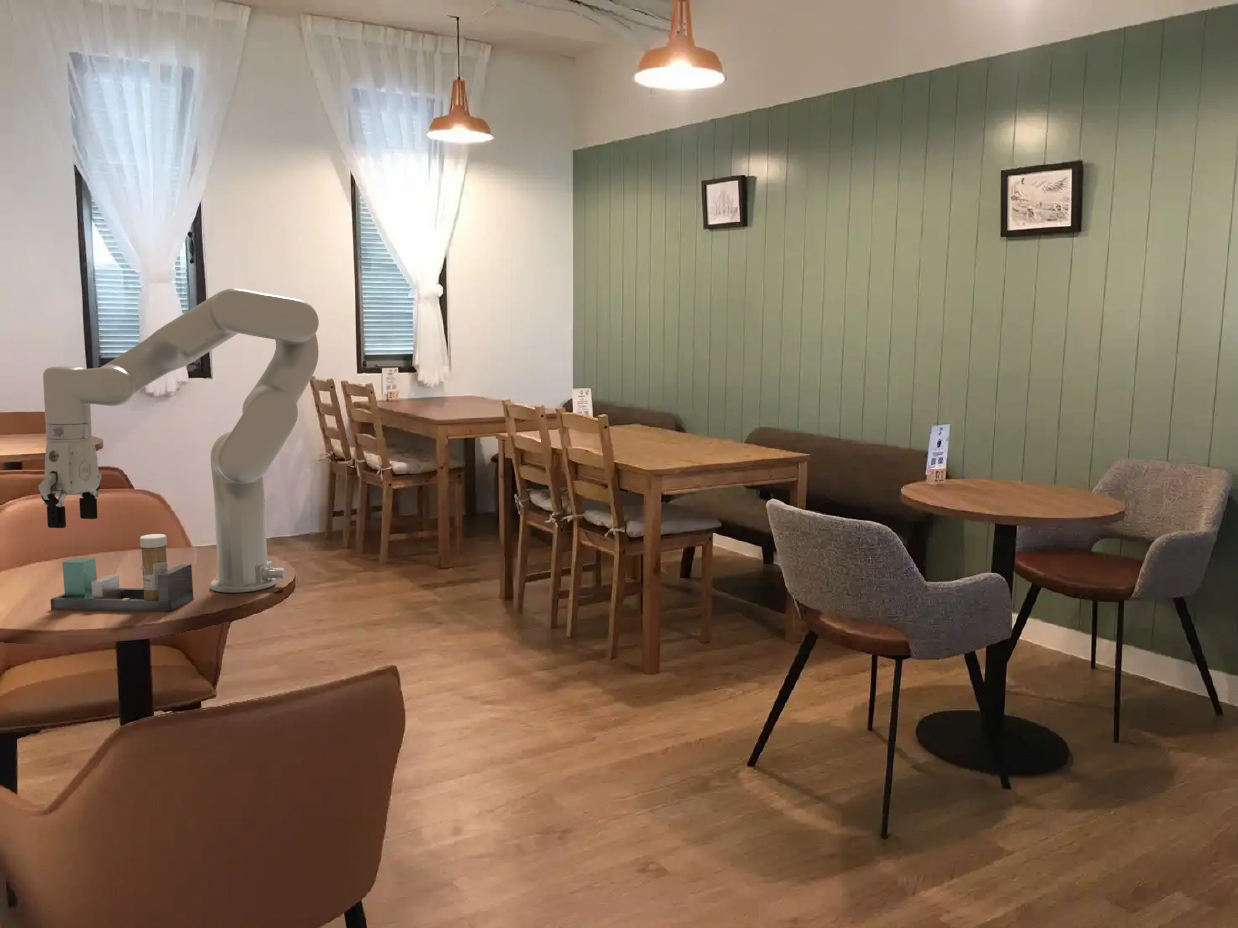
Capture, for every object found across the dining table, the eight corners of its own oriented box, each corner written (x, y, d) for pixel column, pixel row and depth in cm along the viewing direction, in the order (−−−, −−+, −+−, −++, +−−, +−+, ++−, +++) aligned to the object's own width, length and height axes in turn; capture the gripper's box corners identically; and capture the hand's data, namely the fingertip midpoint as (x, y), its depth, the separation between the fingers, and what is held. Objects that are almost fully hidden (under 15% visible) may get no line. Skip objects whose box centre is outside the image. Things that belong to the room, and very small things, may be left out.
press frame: (193, 599, 195) (191, 564, 194) (169, 611, 186) (166, 574, 185) (80, 597, 197) (78, 562, 196) (51, 609, 188) (48, 572, 187)
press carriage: (120, 597, 195) (118, 557, 194) (102, 605, 189) (99, 564, 188) (81, 596, 195) (78, 556, 194) (62, 604, 190) (59, 563, 188)
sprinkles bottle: (139, 605, 191) (135, 535, 189) (163, 600, 194) (159, 532, 193) (150, 609, 188) (146, 538, 186) (174, 604, 191) (170, 535, 190)
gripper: (58, 437, 179) (63, 532, 181) (114, 429, 196) (118, 516, 198) (18, 436, 180) (24, 530, 182) (78, 428, 197) (82, 515, 199)
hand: (73, 523), depth 190 cm, fingers open, 9 cm apart
